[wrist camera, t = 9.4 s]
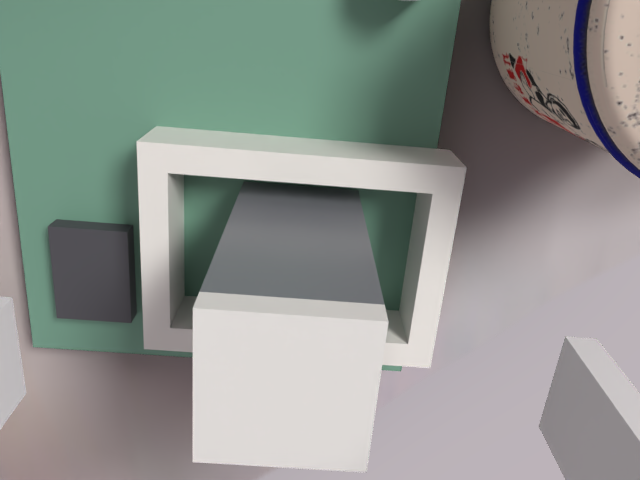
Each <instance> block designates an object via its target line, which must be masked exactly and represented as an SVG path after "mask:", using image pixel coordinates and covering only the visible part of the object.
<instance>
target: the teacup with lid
mask: <svg viewBox="0 0 640 480" xmlns="http://www.w3.org/2000/svg"><path fill="white" fill-rule="evenodd" d="M490 38H491V46H492V51H493V55H494V59H495V62H496V65H497V68H498V70H499V72H500V74H501V77H502V78H503V80H504V82H505V84H506V85H507V87H508V88H509V90H510V91H511V92H512V94H513V95H514V96H515V97H516V98H517V99H518V101H519V102H520V103H521V104H522V105H524V106H525V107H526V108H527V109H528V110H529V111H531V112H532V113H534V114H535V115H537V116H538V117H540V118H542V119H544V120H546V121H548V122H550V123H552V124H554V125H555V126H557V127H559V128H561V129H563V130H565V131H567V132H569V133H571V134H573V135H575V136H577V137H579V138H581V139H583V140H585V141H587V142H589V143H591V144H593V145H595V146H597V147H599V148H601V149H603V150H605V151H607V152H609V153H610V154H611V155H612V156H613V157H614V158H615V159H616V160H617V161H618V162H619V163H620V164H621V165H623V166H624V167H625V168H626V169H627V170H628V171H630V172H631V173H633V174H634V175H636V176H637V177H638V178H640V0H492V3H491V9H490Z"/></svg>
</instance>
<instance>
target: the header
mask: <svg viewBox="0 0 640 480" xmlns="http://www.w3.org/2000/svg"><path fill="white" fill-rule="evenodd" d="M137 169H138V197H139V225H140V253H141V281H142V309H143V337H144V349H150V350H165V351H180V352H193V306H194V304H195V301H196V299H197V297H195V296H185V289H184V174H185V175H197V176H210V177H223V178H236V179H249V180H262V181H275V182H287V183H300V184H313V185H326V186H339V187H352V188H364V189H377V190H390V191H403V192H416V193H417V196H416V203H415V209H414V216H413V223H412V229H411V236H410V242H409V249H408V255H407V262H406V268H405V275H404V282H403V288H402V295H401V301H400V308H399V311H395V310H386V313H387V317H388V321H389V322H388V329H387V336H386V343H385V350H384V356H383V363H382V365H392V366H407V367H422V368H430V366H431V361H432V355H433V350H434V344H435V339H436V333H437V328H438V323H439V317H440V312H441V306H442V301H443V295H444V290H445V284H446V279H447V273H448V268H449V262H450V257H451V252H452V246H453V241H454V235H455V230H456V224H457V219H458V213H459V208H460V202H461V197H462V191H463V186H464V181H465V175H466V170H467V167H466V166H465V165H464V164H463V163H462V162H461V161H460V160H459V159H458V158H457V157H456V156H455V154H454V153H453V152H452V151H451V150H447V149H434V148H422V147H410V146H397V145H385V144H373V143H360V142H348V141H336V140H323V139H311V138H298V137H286V136H274V135H261V134H249V133H237V132H224V131H212V130H200V129H187V128H175V127H163V126H156V127H155V128H153V129H152V130H151V131H149V132H148V133H147V134H145V135H144V136H143V137H142V138H140V139H139V140H138V141H137Z"/></svg>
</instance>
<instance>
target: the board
mask: <svg viewBox="0 0 640 480" xmlns="http://www.w3.org/2000/svg"><path fill="white" fill-rule="evenodd" d="M460 3H461V0H0V73H1V82H2V90H3V98H4V107H5V115H6V123H7V132H8V140H9V149H10V157H11V165H12V174H13V182H14V191H15V199H16V207H17V216H18V224H19V232H20V241H21V249H22V258H23V266H24V274H25V283H26V291H27V299H28V308H29V316H30V325H31V333H32V341H33V347H41V348H56V349H71V350H86V351H101V352H117V353H132V354H147V355H162V356H177V357H193V352H180V351H165V350H150V349H144V337H143V309H142V281H141V253H140V225H139V197H138V169H137V141H138V140H139V139H140V138H142V137H143V136H144V135H145V134H147V133H148V132H149V131H151V130H152V129H153V128H155V127H156V126H163V127H175V128H187V129H200V130H212V131H224V132H237V133H249V134H261V135H274V136H286V137H298V138H311V139H323V140H336V141H348V142H360V143H373V144H385V145H397V146H410V147H422V148H434V149H437V146H438V140H439V134H440V127H441V121H442V115H443V109H444V102H445V96H446V90H447V84H448V78H449V71H450V65H451V59H452V53H453V47H454V40H455V34H456V28H457V22H458V16H459V9H460ZM244 181H245V182H258V183H271V184H284V185H297V186H310V187H323V188H335V189H348V190H358V192H359V196H360V200H361V205H362V209H363V213H364V218H365V222H366V226H367V231H368V235H369V239H370V244H371V248H372V252H373V257H374V261H375V265H376V270H377V274H378V278H379V282H380V287H381V291H382V295H383V300H384V304H385V308H386V310H395V311H399V308H400V301H401V295H402V288H403V282H404V275H405V268H406V262H407V255H408V249H409V242H410V236H411V229H412V223H413V216H414V209H415V203H416V196H417V193H416V192H403V191H390V190H377V189H364V188H352V187H339V186H326V185H313V184H300V183H287V182H275V181H262V180H249V179H236V178H223V177H210V176H197V175H185V174H184V289H185V296H195V297H197V296H198V294H199V291H200V289H201V286H202V284H203V281H204V279H205V276H206V274H207V271H208V269H209V267H210V264H211V262H212V259H213V257H214V254H215V252H216V249H217V247H218V244H219V242H220V239H221V237H222V234H223V232H224V229H225V227H226V224H227V222H228V219H229V217H230V214H231V212H232V209H233V207H234V204H235V202H236V199H237V197H238V195H239V192H240V190H241V187H242V185H243V182H244ZM401 369H402V366H392V365H382V370H390V371H401Z"/></svg>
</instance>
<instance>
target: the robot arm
mask: <svg viewBox="0 0 640 480" xmlns="http://www.w3.org/2000/svg"><path fill="white" fill-rule="evenodd" d="M25 394H26V387H25V380H24V374H23V367H22V360H21V353H20V346H19V339H18V333H17V326H16V319H15V312H14V305H13V298H12V297H0V429H1V428H2V426H3V425H4V424H5V422H6V421H7V420H8V418H9V417H10V415H11V414H12V413H13V411H14V410H15V408H16V407H17V406H18V404H19V403H20V401H21V400H22V399H23V397H24V396H25ZM539 428H540V430H541V431H542V434H543V436H544V438H545V440H546V442H547V444H548V446H549V448H550V450H551V452H552V454H553V456H554V458H555V460H556V461H557V464H558V465H559V468H560V470H561V472H562V474H563V475H564V477H565V480H640V393H639V392H638V390H637V389H636V388H635V387H634V385H633V384H632V383H631V382H630V380H629V379H628V378H627V376H626V375H625V374H624V373H623V371H622V370H621V369H620V368H619V366H618V365H617V364H616V363H615V361H614V360H613V359H612V358H611V356H610V355H609V354H608V352H607V351H606V350H605V349H604V347H603V346H602V345H601V344H600V342H599V341H598V340H597V339H595V338H580V337H565V339H564V343H563V346H562V350H561V353H560V356H559V360H558V363H557V366H556V370H555V373H554V377H553V380H552V383H551V387H550V390H549V394H548V397H547V400H546V403H545V407H544V410H543V414H542V417H541V421H540V424H539Z"/></svg>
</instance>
